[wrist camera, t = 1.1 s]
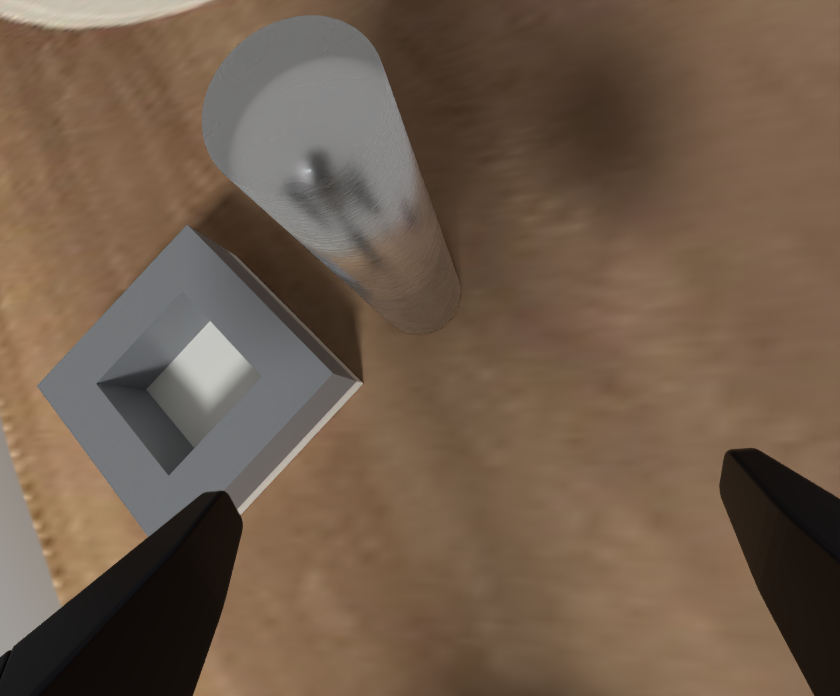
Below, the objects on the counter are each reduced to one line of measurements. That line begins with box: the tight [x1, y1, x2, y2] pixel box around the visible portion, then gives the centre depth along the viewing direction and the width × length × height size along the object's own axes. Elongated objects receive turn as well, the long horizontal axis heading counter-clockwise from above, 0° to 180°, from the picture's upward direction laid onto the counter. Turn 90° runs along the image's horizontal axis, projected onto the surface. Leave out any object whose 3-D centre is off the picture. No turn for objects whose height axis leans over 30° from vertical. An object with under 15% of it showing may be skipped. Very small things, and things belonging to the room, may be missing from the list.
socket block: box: [37, 225, 363, 537], centre depth 22 cm, size 10×10×4 cm
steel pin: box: [202, 15, 461, 335], centre depth 17 cm, size 4×4×14 cm
